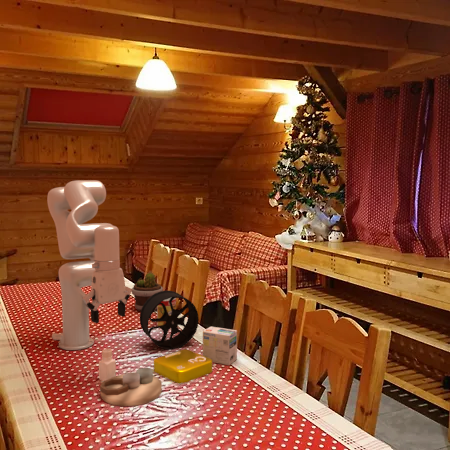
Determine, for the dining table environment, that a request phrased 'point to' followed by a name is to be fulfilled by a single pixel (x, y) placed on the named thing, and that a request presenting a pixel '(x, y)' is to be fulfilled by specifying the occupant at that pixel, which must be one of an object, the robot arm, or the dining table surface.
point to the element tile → (182, 366)
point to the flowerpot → (145, 290)
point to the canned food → (161, 311)
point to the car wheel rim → (170, 320)
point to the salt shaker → (107, 365)
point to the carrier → (131, 388)
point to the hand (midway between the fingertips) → (108, 319)
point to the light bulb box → (220, 345)
